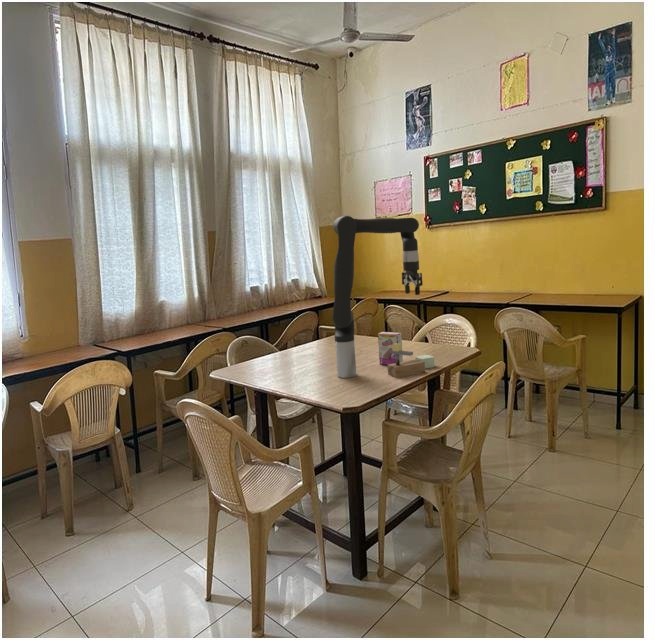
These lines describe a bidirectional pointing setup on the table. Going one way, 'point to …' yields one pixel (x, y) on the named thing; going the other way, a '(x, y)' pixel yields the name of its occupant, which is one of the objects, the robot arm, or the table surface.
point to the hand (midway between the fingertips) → (412, 294)
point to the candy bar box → (388, 347)
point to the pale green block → (426, 360)
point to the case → (406, 368)
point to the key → (399, 352)
